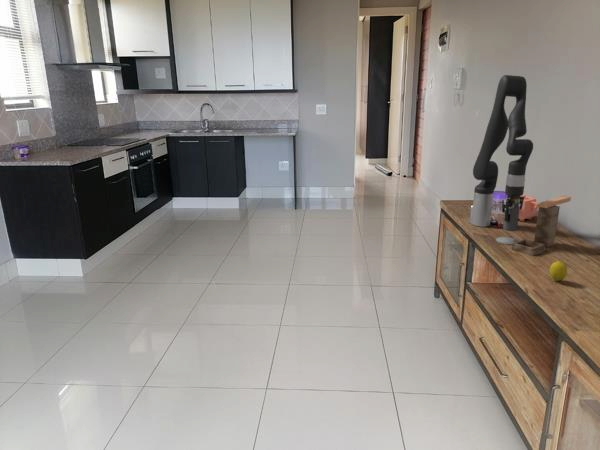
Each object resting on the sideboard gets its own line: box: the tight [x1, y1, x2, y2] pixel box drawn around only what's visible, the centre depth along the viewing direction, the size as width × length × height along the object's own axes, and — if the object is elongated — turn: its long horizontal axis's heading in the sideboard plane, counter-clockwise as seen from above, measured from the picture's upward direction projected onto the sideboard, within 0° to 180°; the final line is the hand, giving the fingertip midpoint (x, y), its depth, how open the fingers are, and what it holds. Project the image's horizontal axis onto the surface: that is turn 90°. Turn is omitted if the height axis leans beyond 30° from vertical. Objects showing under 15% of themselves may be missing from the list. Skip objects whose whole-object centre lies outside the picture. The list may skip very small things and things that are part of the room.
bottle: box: [502, 198, 519, 232], centre depth 202 cm, size 6×6×15 cm
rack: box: [511, 205, 561, 256], centre depth 195 cm, size 10×21×18 cm, turn 124°
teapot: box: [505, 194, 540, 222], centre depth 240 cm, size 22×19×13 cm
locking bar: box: [538, 195, 572, 208], centre depth 198 cm, size 3×21×2 cm, turn 124°
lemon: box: [549, 260, 568, 282], centre depth 162 cm, size 6×6×8 cm
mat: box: [495, 236, 520, 246], centre depth 206 cm, size 10×10×1 cm
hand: (510, 220), depth 203 cm, fingers closed on bottle, 6 cm apart
